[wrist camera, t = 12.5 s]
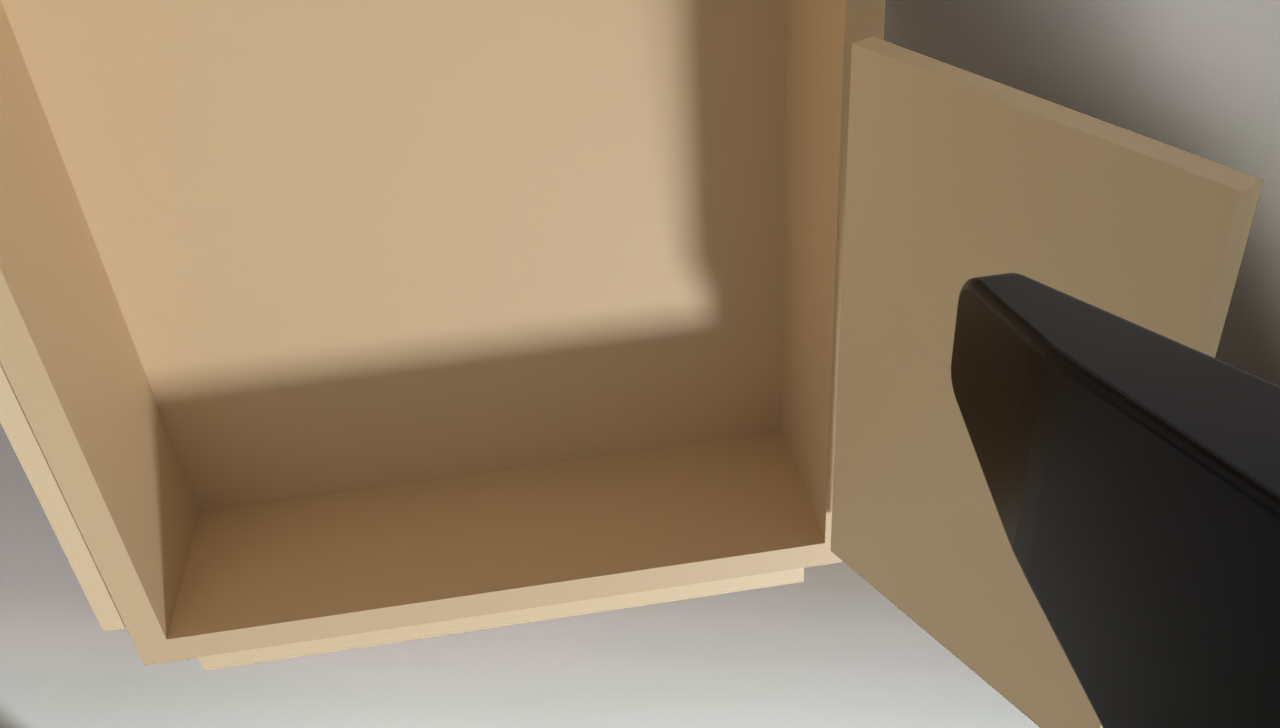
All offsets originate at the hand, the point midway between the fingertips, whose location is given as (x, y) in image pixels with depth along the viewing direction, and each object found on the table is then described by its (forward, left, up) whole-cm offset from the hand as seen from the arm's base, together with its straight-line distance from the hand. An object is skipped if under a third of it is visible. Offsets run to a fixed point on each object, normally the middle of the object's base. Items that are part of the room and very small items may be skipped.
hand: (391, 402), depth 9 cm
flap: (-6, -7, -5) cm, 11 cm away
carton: (-3, 0, -13) cm, 13 cm away
